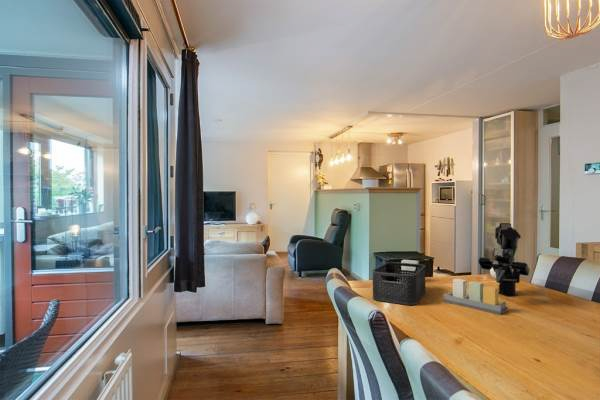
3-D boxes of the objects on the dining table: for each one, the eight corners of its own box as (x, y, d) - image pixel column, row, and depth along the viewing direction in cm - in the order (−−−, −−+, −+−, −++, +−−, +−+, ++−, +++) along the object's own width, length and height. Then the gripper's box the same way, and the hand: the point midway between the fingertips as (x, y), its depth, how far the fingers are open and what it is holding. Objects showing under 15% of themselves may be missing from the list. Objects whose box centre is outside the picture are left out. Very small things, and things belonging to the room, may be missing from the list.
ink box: (419, 282, 187) (419, 260, 187) (417, 284, 183) (417, 261, 183) (403, 280, 191) (403, 259, 191) (401, 282, 187) (401, 260, 187)
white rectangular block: (456, 296, 155) (456, 278, 155) (466, 298, 152) (466, 280, 152) (452, 297, 153) (452, 279, 153) (463, 299, 150) (462, 281, 149)
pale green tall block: (472, 299, 150) (472, 281, 150) (483, 301, 146) (483, 283, 146) (468, 301, 148) (468, 282, 148) (479, 303, 144) (479, 284, 144)
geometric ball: (502, 284, 191) (512, 273, 188) (492, 280, 189) (502, 269, 185) (493, 274, 198) (503, 264, 195) (484, 271, 195) (493, 260, 192)
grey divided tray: (452, 298, 157) (452, 291, 157) (507, 310, 140) (507, 302, 140) (443, 301, 152) (443, 294, 152) (500, 314, 135) (500, 306, 135)
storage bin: (387, 286, 180) (387, 260, 180) (426, 290, 170) (426, 263, 170) (370, 300, 155) (370, 271, 155) (414, 307, 145) (414, 275, 145)
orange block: (486, 304, 143) (486, 285, 143) (498, 307, 139) (498, 287, 139) (483, 306, 140) (483, 286, 140) (495, 309, 137) (495, 289, 137)
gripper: (479, 239, 155) (468, 267, 148) (527, 243, 141) (517, 274, 134) (487, 254, 160) (477, 282, 154) (533, 259, 146) (524, 290, 139)
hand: (497, 282), depth 145 cm, fingers closed
